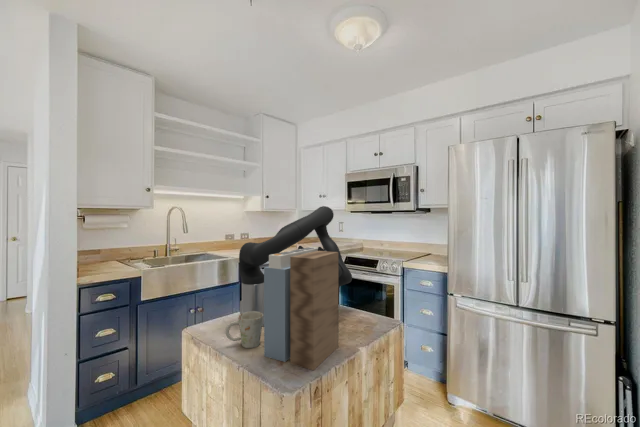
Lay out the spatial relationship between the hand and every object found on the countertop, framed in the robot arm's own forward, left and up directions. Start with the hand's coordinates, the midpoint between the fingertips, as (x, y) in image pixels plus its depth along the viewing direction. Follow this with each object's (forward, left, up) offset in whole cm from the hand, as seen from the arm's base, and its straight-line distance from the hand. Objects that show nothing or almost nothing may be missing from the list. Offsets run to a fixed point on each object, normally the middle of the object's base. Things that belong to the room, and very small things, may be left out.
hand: (308, 248), depth 109 cm
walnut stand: (+10, -12, -32) cm, 36 cm away
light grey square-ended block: (0, -8, -4) cm, 9 cm away
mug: (-15, -18, -32) cm, 40 cm away
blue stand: (0, -12, -32) cm, 34 cm away
